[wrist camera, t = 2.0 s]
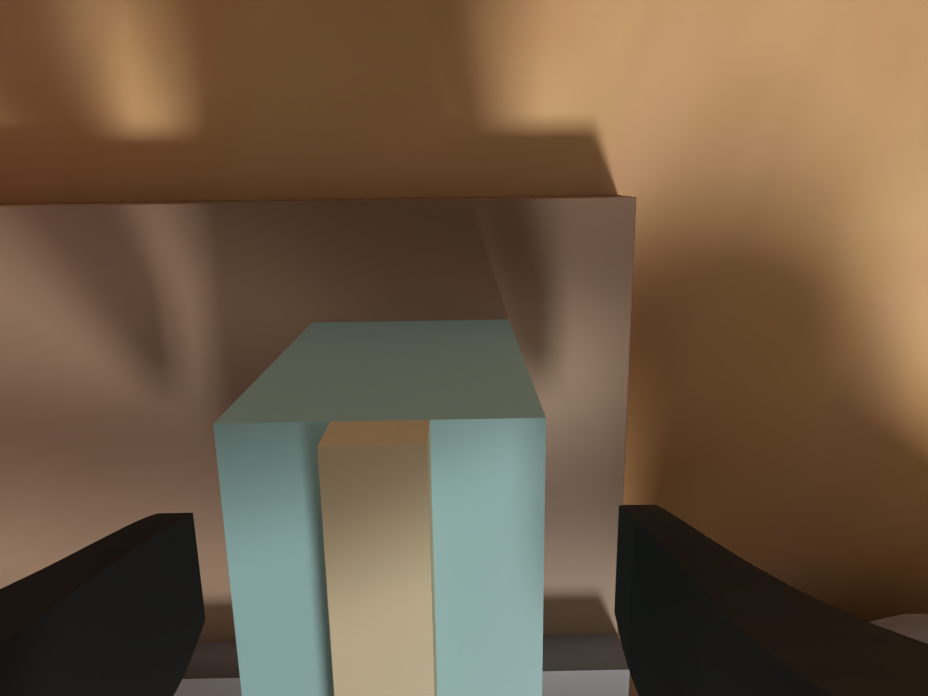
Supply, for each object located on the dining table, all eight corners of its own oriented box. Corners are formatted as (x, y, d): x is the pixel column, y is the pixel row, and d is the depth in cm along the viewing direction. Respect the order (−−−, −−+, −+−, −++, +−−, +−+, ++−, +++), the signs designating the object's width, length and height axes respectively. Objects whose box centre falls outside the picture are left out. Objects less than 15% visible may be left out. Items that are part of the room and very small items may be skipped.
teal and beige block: (508, 620, 16) (546, 936, 9) (332, 624, 16) (245, 943, 9) (508, 319, 14) (555, 442, 8) (312, 322, 14) (188, 449, 8)
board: (601, 637, 18) (627, 717, 15) (-311, 656, 18) (-446, 740, 15) (618, 195, 15) (652, 199, 13) (-454, 211, 15) (-648, 218, 12)
